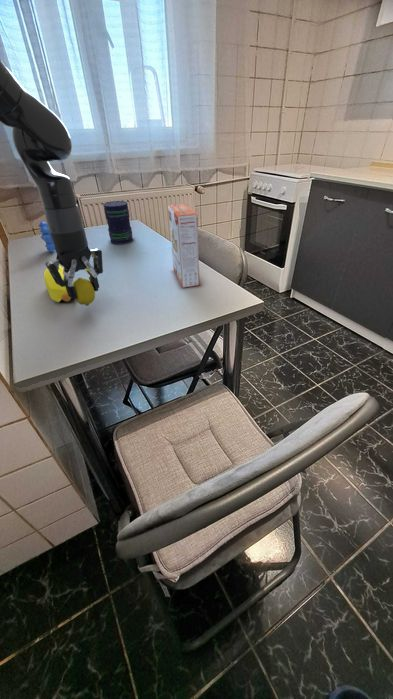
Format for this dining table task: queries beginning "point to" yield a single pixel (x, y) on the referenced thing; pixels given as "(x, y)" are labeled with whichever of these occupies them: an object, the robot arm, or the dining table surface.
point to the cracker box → (184, 244)
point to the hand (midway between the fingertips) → (84, 294)
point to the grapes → (46, 236)
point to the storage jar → (118, 222)
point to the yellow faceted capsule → (56, 287)
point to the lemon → (84, 291)
